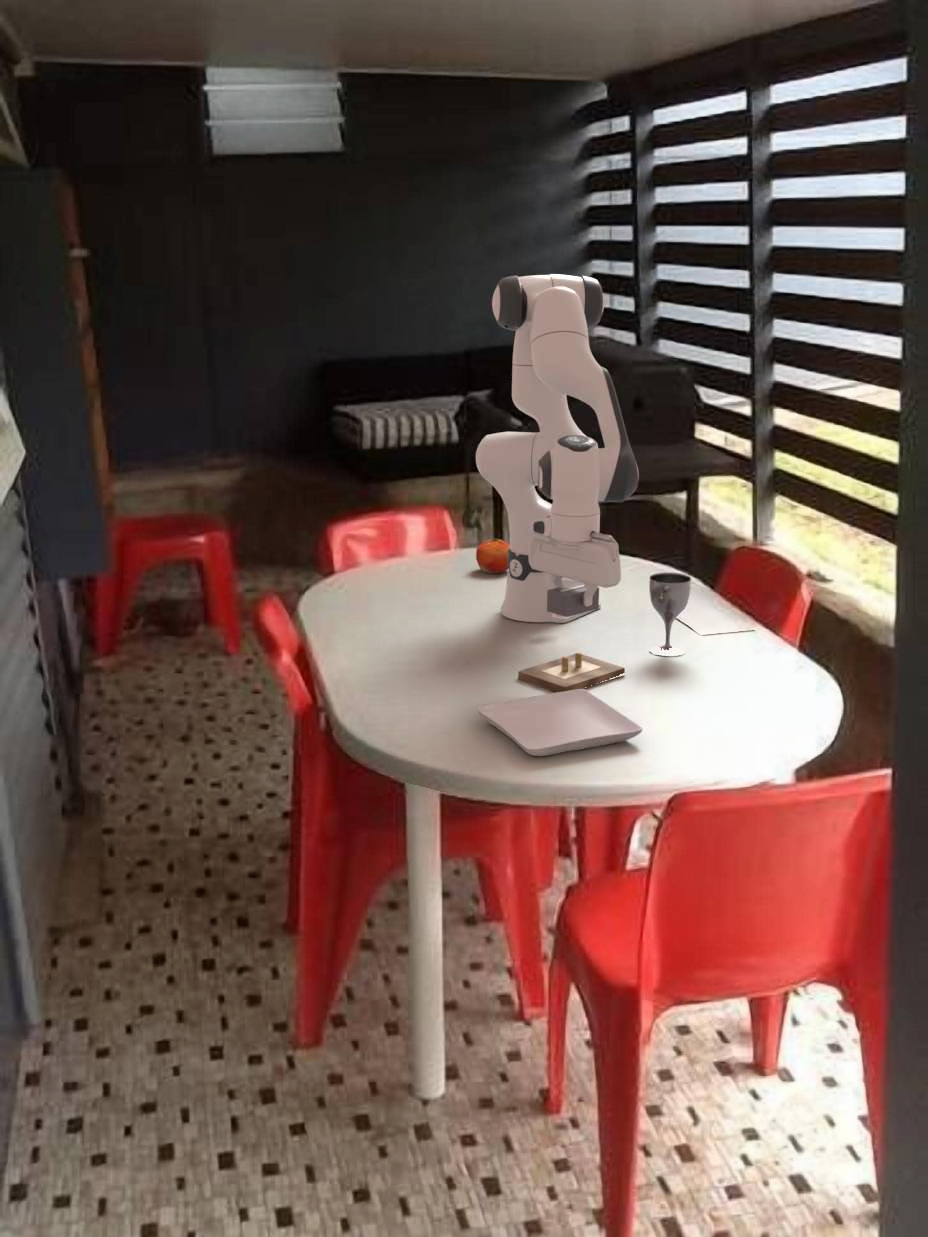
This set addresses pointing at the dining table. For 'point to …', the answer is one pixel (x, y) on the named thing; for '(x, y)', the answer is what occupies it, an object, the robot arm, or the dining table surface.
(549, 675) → the pin board
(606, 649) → the dining table surface
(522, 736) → the salad plate
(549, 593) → the socket block
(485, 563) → the tomato
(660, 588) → the wine glass
